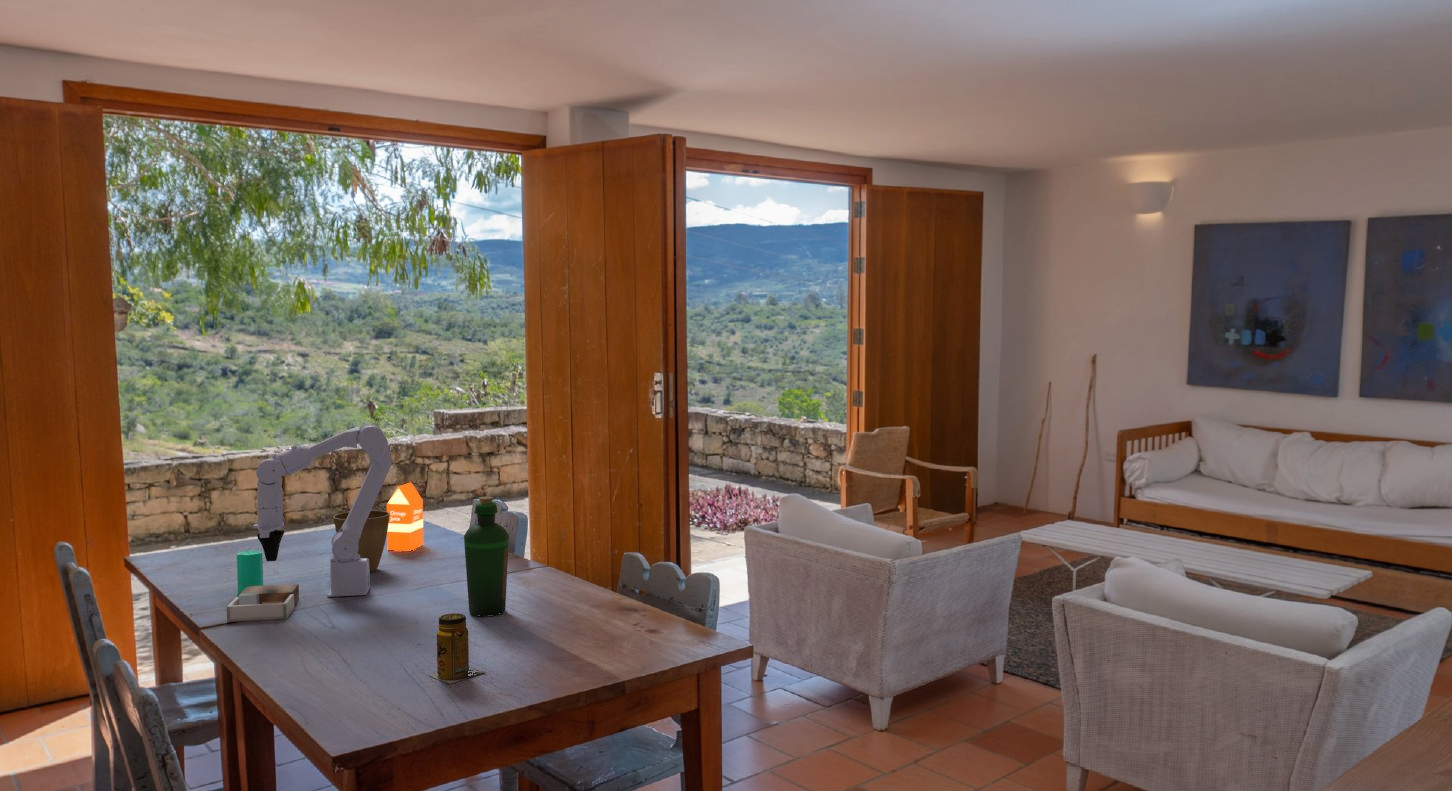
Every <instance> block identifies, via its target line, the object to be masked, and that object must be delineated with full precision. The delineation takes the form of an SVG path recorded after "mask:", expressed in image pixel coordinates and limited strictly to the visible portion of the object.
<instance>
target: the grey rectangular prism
mask: <svg viewBox="0 0 1452 791" xmlns="http://www.w3.org/2000/svg"><path fill="white" fill-rule="evenodd" d="M238 597H239V605H253V604H259V593H247V594H240V595H238Z"/></svg>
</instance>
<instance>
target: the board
mask: <svg viewBox="0 0 1452 791" xmlns="http://www.w3.org/2000/svg"><path fill="white" fill-rule="evenodd" d="M299 585H300V584H299V583H293V584H273V585H271V584H269V585H268V584H265V585H263V586H247V587H246V588H245V589H244V590H243V591H242V592H241V593H240V594H247V593H259V604H262V602H275V601H281V602H283V603H284V602H285V601H286V599H287V598H288V597H289V596H290V594H294V607H295V606H296V604H298V601H299V600H300V589H299V588H300V586H299ZM240 594H239V595H240ZM239 595H238V596H239Z"/></svg>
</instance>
